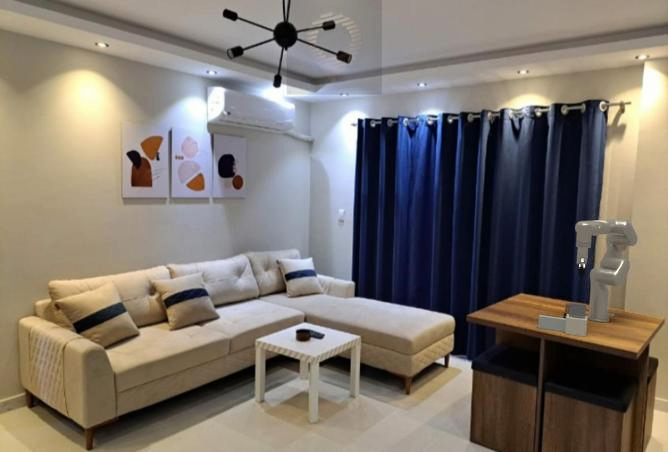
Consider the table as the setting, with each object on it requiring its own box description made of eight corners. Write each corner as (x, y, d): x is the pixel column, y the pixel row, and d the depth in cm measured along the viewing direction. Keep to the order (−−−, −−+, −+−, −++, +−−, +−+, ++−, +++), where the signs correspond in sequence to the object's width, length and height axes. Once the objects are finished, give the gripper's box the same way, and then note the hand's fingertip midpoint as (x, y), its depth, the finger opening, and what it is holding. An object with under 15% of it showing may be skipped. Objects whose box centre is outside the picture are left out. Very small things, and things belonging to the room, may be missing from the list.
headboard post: (539, 325, 277) (540, 310, 276) (585, 332, 265) (587, 316, 265) (537, 329, 269) (538, 313, 268) (585, 336, 257) (586, 320, 257)
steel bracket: (568, 321, 267) (569, 302, 266) (584, 323, 263) (586, 304, 262) (568, 322, 264) (569, 303, 263) (584, 325, 260) (586, 305, 259)
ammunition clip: (563, 320, 287) (564, 301, 286) (565, 320, 288) (566, 301, 287) (575, 326, 277) (577, 305, 276) (578, 326, 277) (580, 305, 276)
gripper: (576, 242, 284) (574, 271, 285) (575, 245, 268) (573, 275, 270) (590, 243, 280) (588, 272, 282) (590, 246, 265) (588, 277, 266)
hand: (581, 274), depth 276 cm, fingers open, 9 cm apart
